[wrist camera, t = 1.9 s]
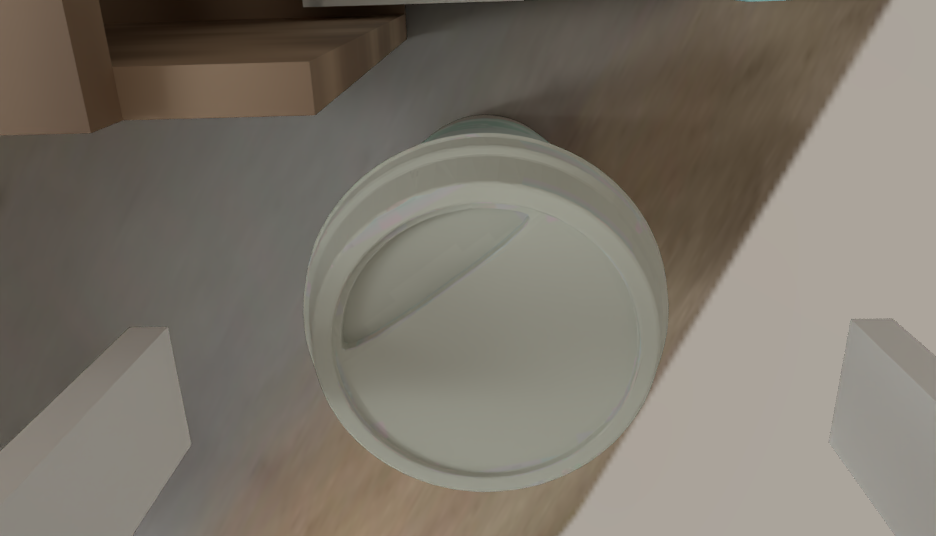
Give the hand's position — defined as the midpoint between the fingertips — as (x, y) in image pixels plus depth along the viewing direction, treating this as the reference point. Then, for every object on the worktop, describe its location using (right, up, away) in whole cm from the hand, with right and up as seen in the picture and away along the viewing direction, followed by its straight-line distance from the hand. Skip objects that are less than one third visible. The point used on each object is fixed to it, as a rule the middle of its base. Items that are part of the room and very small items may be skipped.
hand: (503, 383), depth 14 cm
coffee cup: (0, +5, +13) cm, 14 cm away
